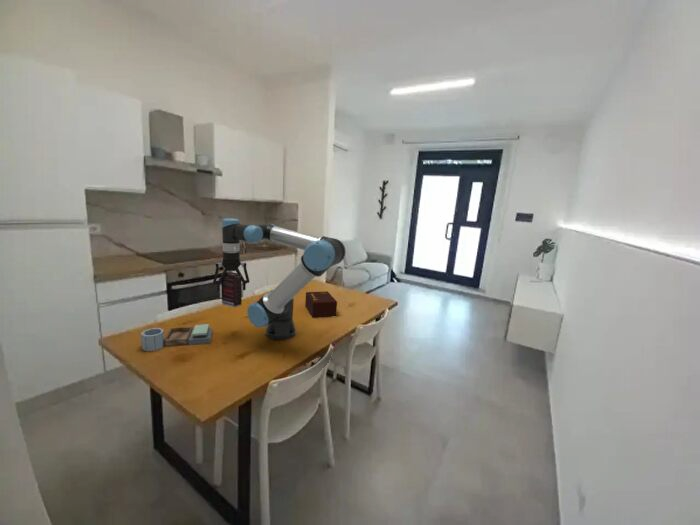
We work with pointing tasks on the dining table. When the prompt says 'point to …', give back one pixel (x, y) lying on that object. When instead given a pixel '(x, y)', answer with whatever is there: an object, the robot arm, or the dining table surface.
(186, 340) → the brown wooden tray
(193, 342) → the blue-grey rectangular tray
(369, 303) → the dining table surface
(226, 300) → the supplement box
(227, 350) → the dining table surface
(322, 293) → the box
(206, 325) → the mint green block
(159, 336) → the cup
